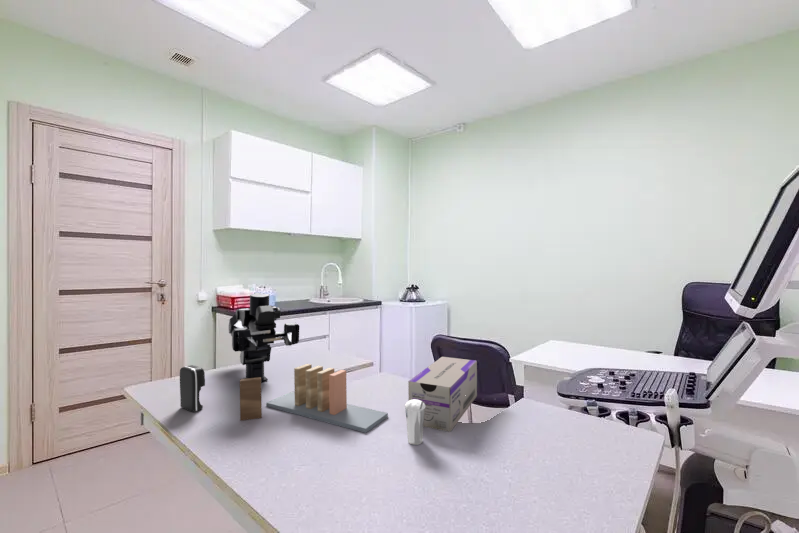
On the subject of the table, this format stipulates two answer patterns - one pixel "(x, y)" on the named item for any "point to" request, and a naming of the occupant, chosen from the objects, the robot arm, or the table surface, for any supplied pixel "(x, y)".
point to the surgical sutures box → (445, 391)
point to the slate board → (347, 418)
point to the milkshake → (415, 420)
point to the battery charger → (191, 387)
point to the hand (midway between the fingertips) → (274, 345)
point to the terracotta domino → (337, 392)
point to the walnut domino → (250, 398)
